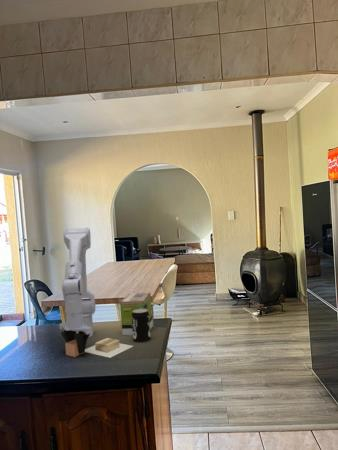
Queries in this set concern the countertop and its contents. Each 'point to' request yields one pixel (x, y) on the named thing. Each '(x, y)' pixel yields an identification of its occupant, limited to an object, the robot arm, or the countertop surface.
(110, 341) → the bottom brick
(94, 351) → the build plate
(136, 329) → the beverage can
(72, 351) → the top brick
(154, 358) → the countertop surface
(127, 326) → the tea box
